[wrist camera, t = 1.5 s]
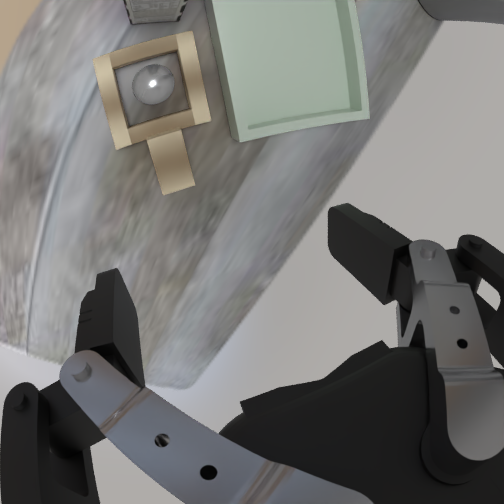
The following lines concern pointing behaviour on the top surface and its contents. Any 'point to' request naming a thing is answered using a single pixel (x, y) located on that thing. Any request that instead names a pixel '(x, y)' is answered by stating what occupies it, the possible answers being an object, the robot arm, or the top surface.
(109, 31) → the top surface
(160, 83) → the steel post
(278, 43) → the tray
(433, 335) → the robot arm
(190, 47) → the wooden frame with handle
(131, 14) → the candy bar box
